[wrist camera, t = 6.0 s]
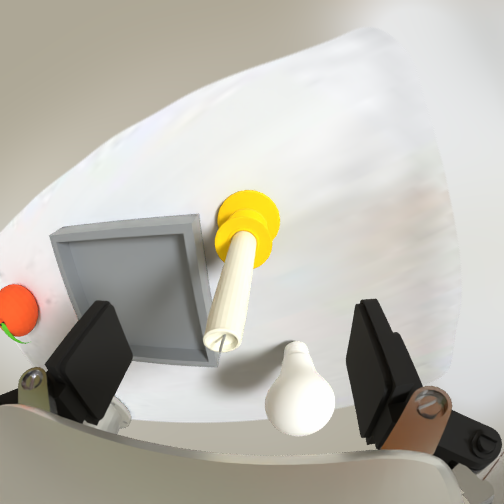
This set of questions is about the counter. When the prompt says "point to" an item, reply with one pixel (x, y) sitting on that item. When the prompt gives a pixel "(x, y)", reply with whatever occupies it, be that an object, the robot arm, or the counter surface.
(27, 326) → the clementine
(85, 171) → the counter surface
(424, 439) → the robot arm
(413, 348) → the counter surface
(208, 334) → the candle
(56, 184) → the counter surface
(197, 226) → the tray
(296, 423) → the lightbulb
